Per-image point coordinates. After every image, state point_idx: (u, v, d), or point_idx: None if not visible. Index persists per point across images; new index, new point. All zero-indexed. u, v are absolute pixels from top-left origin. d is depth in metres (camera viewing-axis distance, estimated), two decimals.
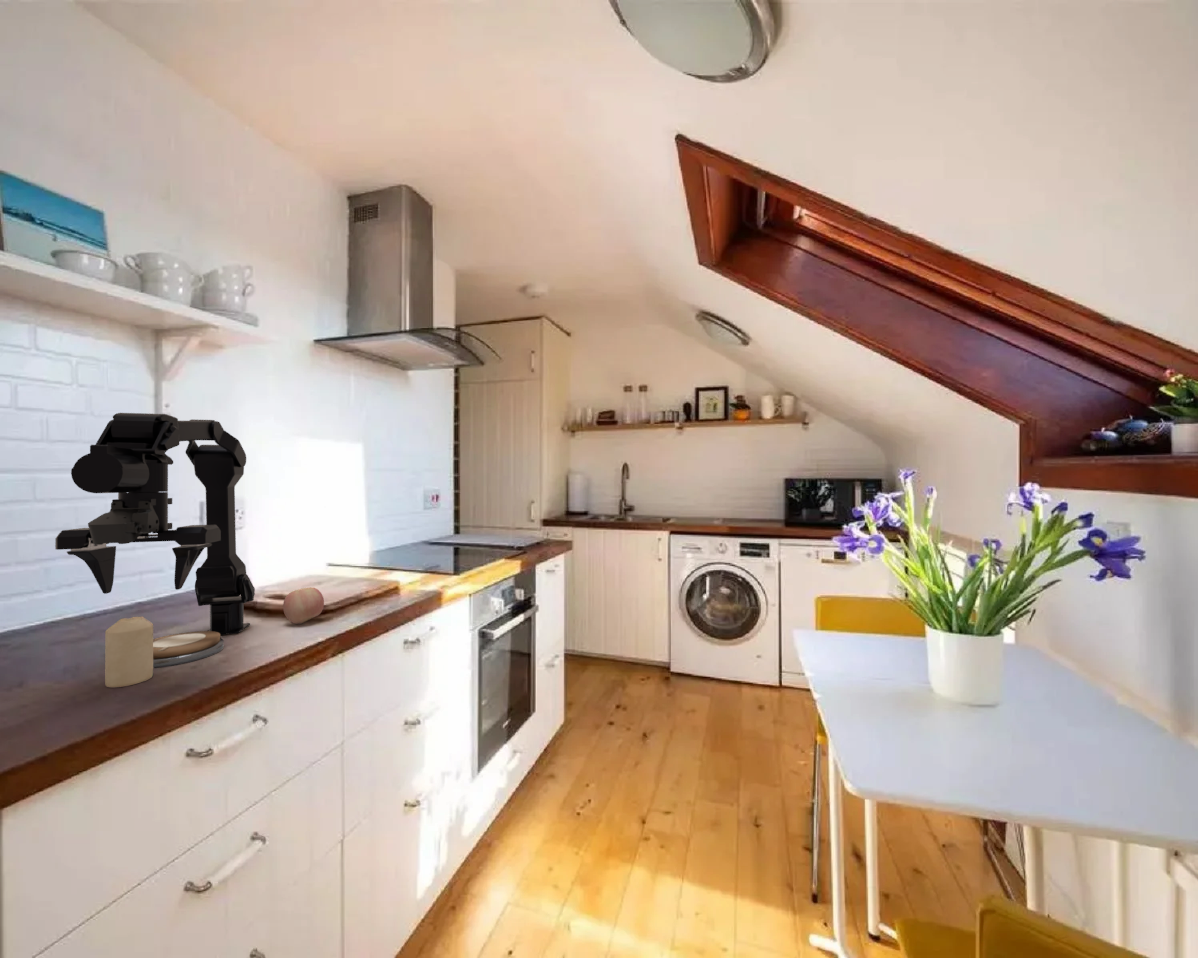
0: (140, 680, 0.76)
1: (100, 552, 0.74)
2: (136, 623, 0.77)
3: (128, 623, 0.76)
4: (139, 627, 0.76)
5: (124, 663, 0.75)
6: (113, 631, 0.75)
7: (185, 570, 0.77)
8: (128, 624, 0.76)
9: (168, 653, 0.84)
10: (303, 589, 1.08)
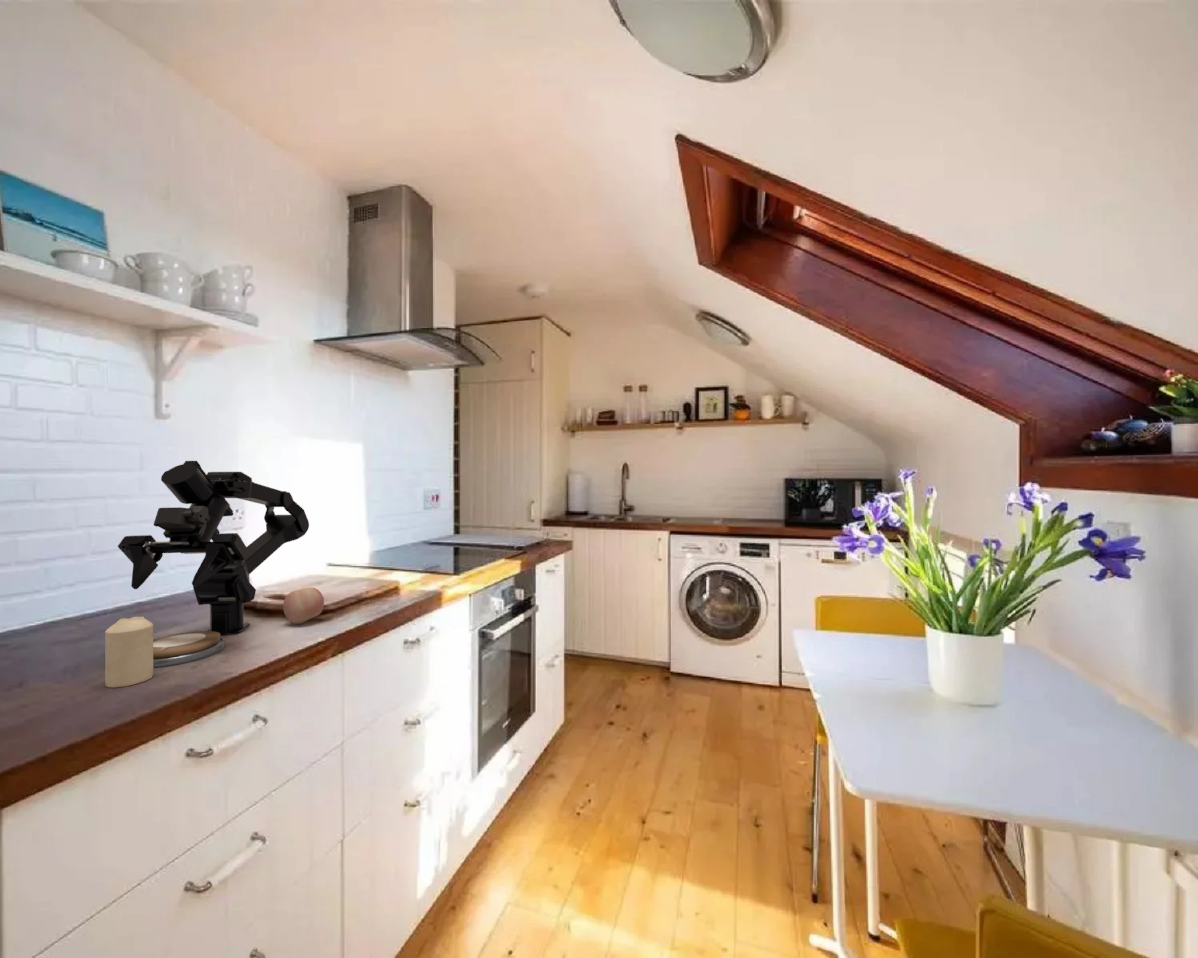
0: (140, 680, 0.76)
1: (147, 555, 0.88)
2: (136, 623, 0.77)
3: (128, 623, 0.76)
4: (139, 627, 0.76)
5: (124, 663, 0.75)
6: (113, 631, 0.75)
7: (207, 570, 0.88)
8: (128, 624, 0.76)
9: (168, 653, 0.84)
10: (303, 589, 1.08)
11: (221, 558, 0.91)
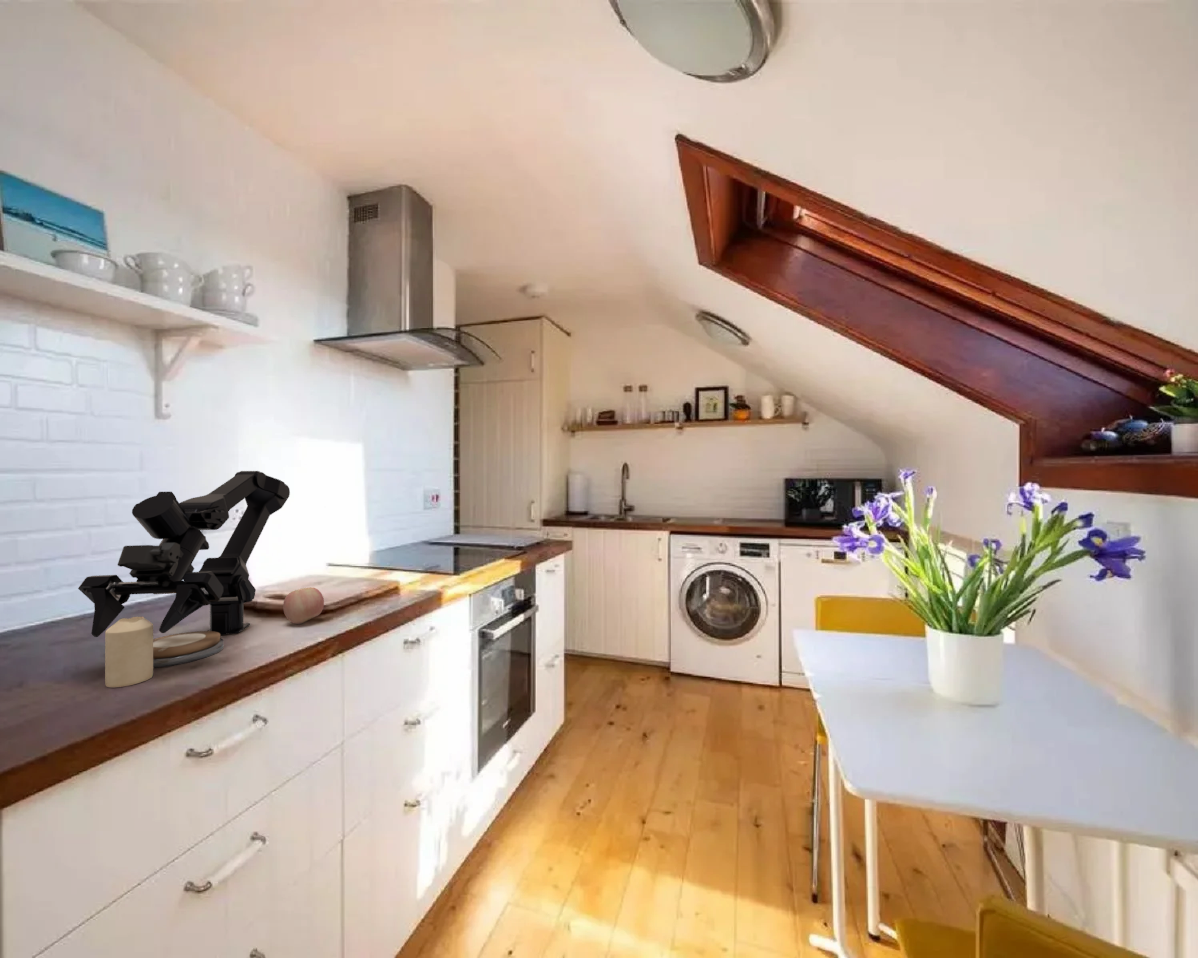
0: (140, 680, 0.76)
1: (111, 598, 0.80)
2: (136, 623, 0.77)
3: (128, 623, 0.76)
4: (139, 627, 0.76)
5: (124, 663, 0.75)
6: (113, 631, 0.75)
7: (177, 614, 0.80)
8: (128, 624, 0.76)
9: (168, 653, 0.84)
10: (303, 589, 1.08)
11: (194, 599, 0.83)
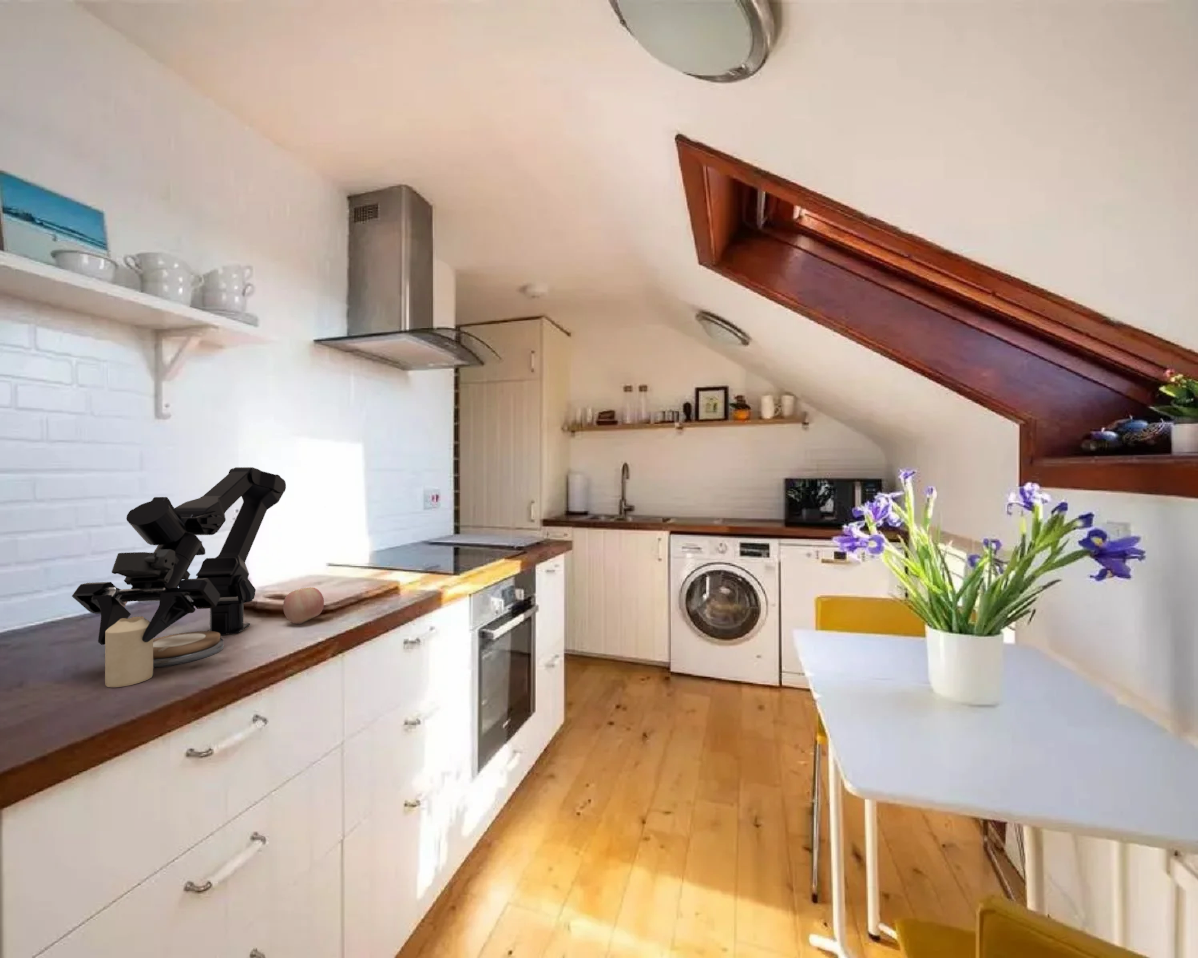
0: (140, 680, 0.76)
1: (118, 605, 0.79)
2: (136, 623, 0.77)
3: (128, 623, 0.76)
4: (139, 627, 0.76)
5: (124, 663, 0.75)
6: (113, 631, 0.75)
7: (160, 622, 0.78)
8: (128, 624, 0.76)
9: (168, 653, 0.84)
10: (303, 589, 1.08)
11: (178, 607, 0.82)
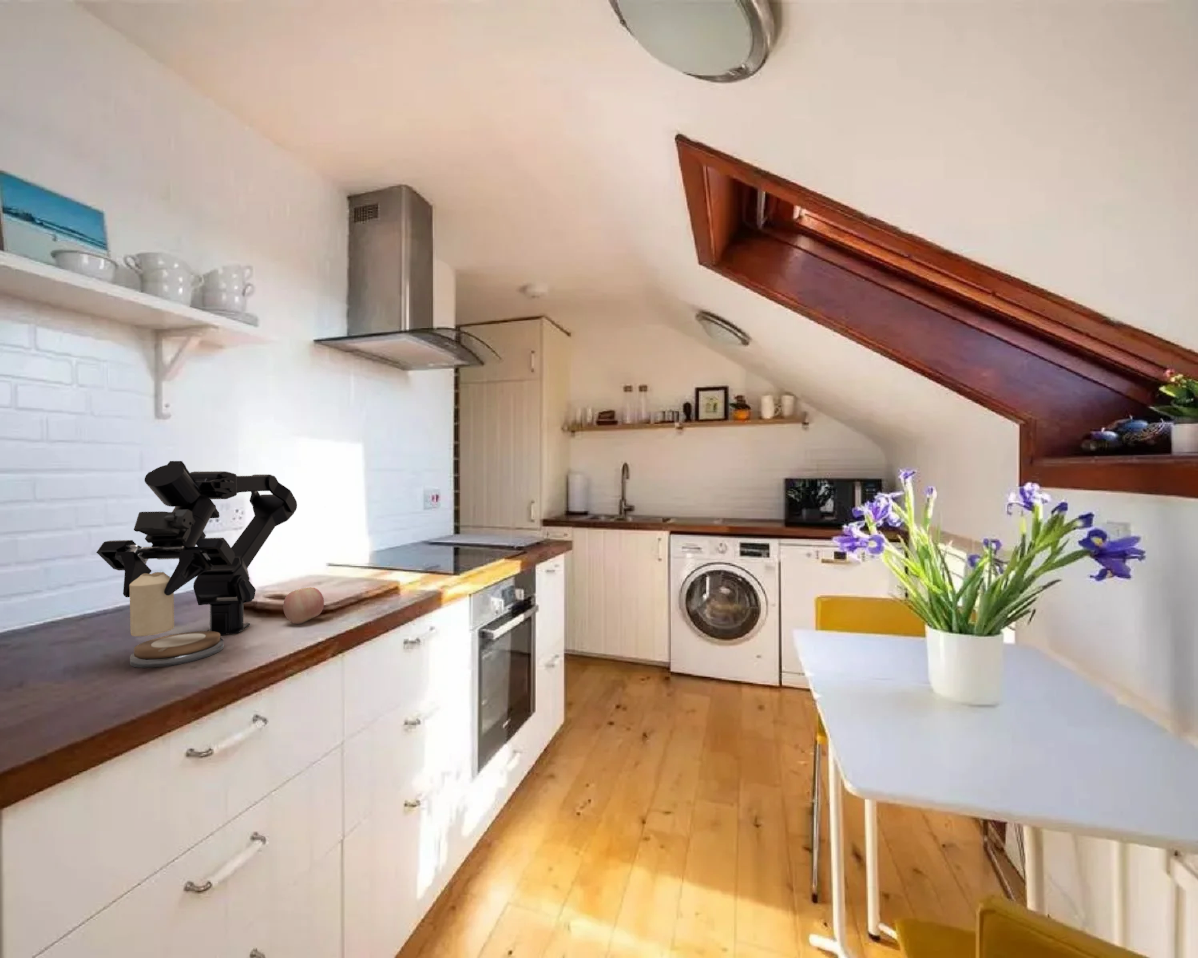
0: (163, 630, 0.81)
1: (139, 561, 0.84)
2: (158, 577, 0.81)
3: (150, 577, 0.81)
4: (161, 581, 0.81)
5: (148, 614, 0.80)
6: (137, 584, 0.79)
7: (180, 577, 0.83)
8: (150, 578, 0.81)
9: (168, 653, 0.84)
10: (303, 589, 1.08)
11: (196, 564, 0.87)
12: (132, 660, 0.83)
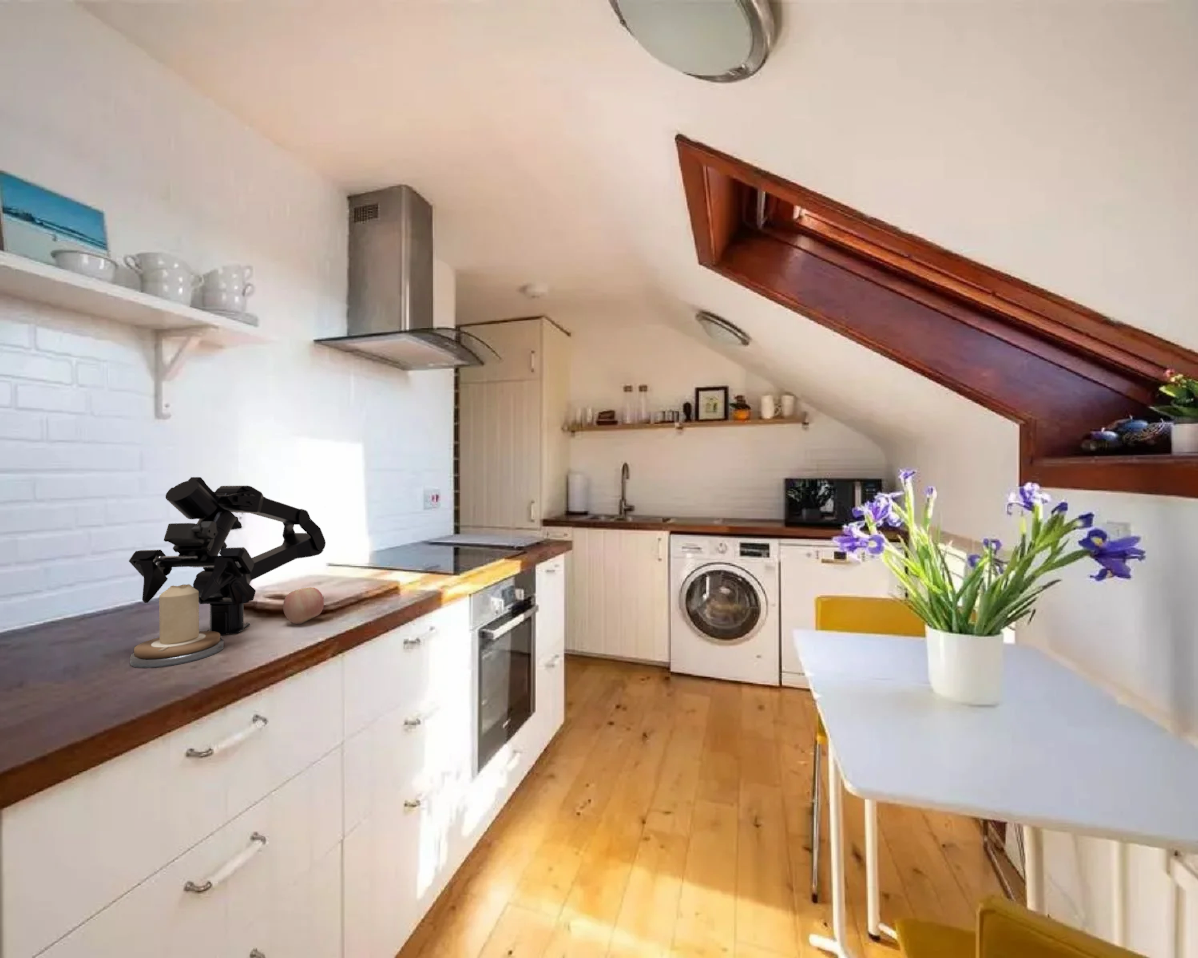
0: (189, 638, 0.88)
1: (157, 570, 0.91)
2: (185, 589, 0.89)
3: (178, 589, 0.88)
4: (188, 592, 0.88)
5: (176, 623, 0.87)
6: (167, 595, 0.87)
7: (215, 584, 0.91)
8: (178, 590, 0.88)
9: (168, 653, 0.84)
10: (303, 589, 1.08)
11: (229, 572, 0.94)
12: (132, 660, 0.83)
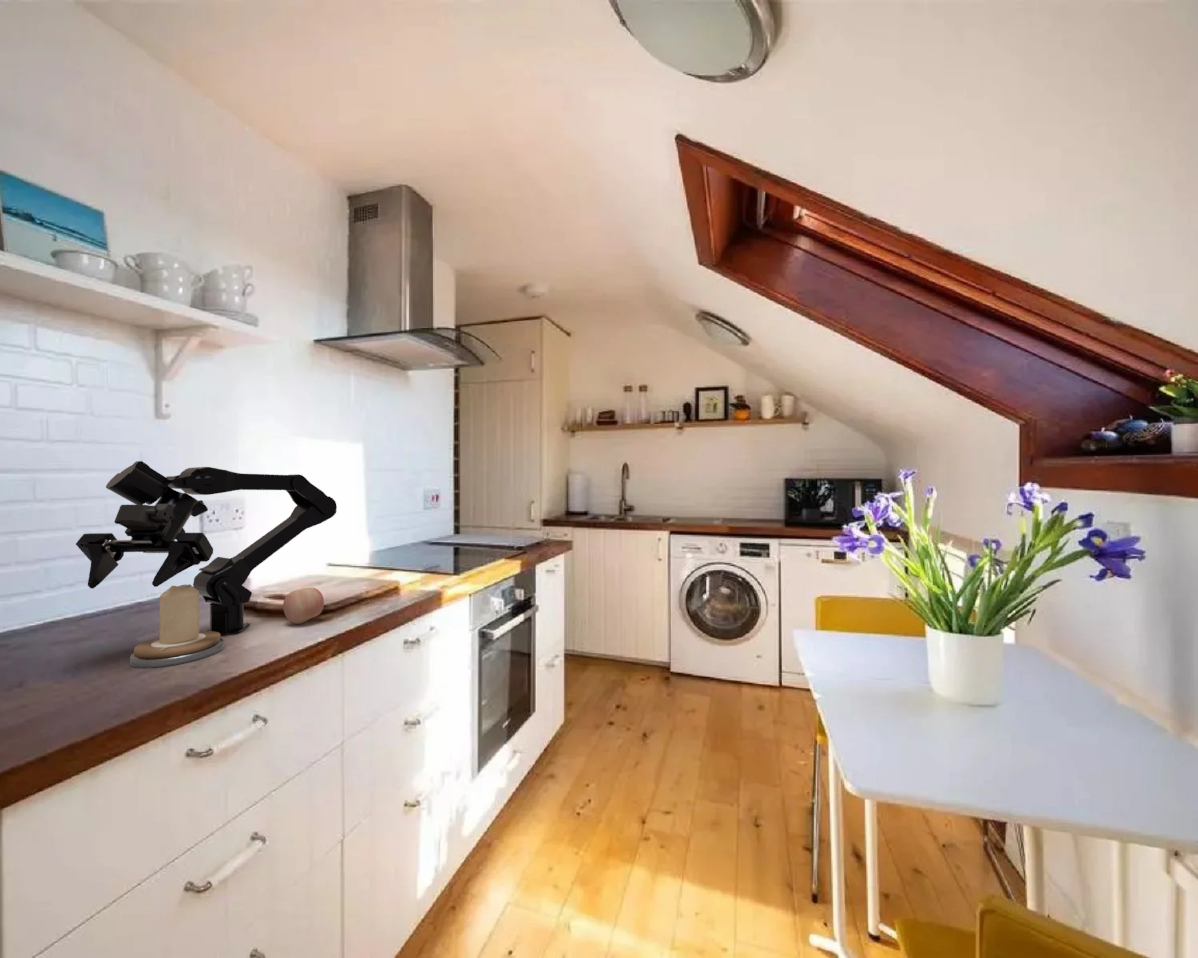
0: (189, 638, 0.88)
1: (107, 554, 0.85)
2: (185, 589, 0.89)
3: (179, 589, 0.88)
4: (188, 593, 0.88)
5: (176, 623, 0.87)
6: (167, 595, 0.87)
7: (169, 570, 0.85)
8: (179, 590, 0.88)
9: (168, 653, 0.84)
10: (303, 589, 1.08)
11: (185, 558, 0.89)
12: (132, 660, 0.83)
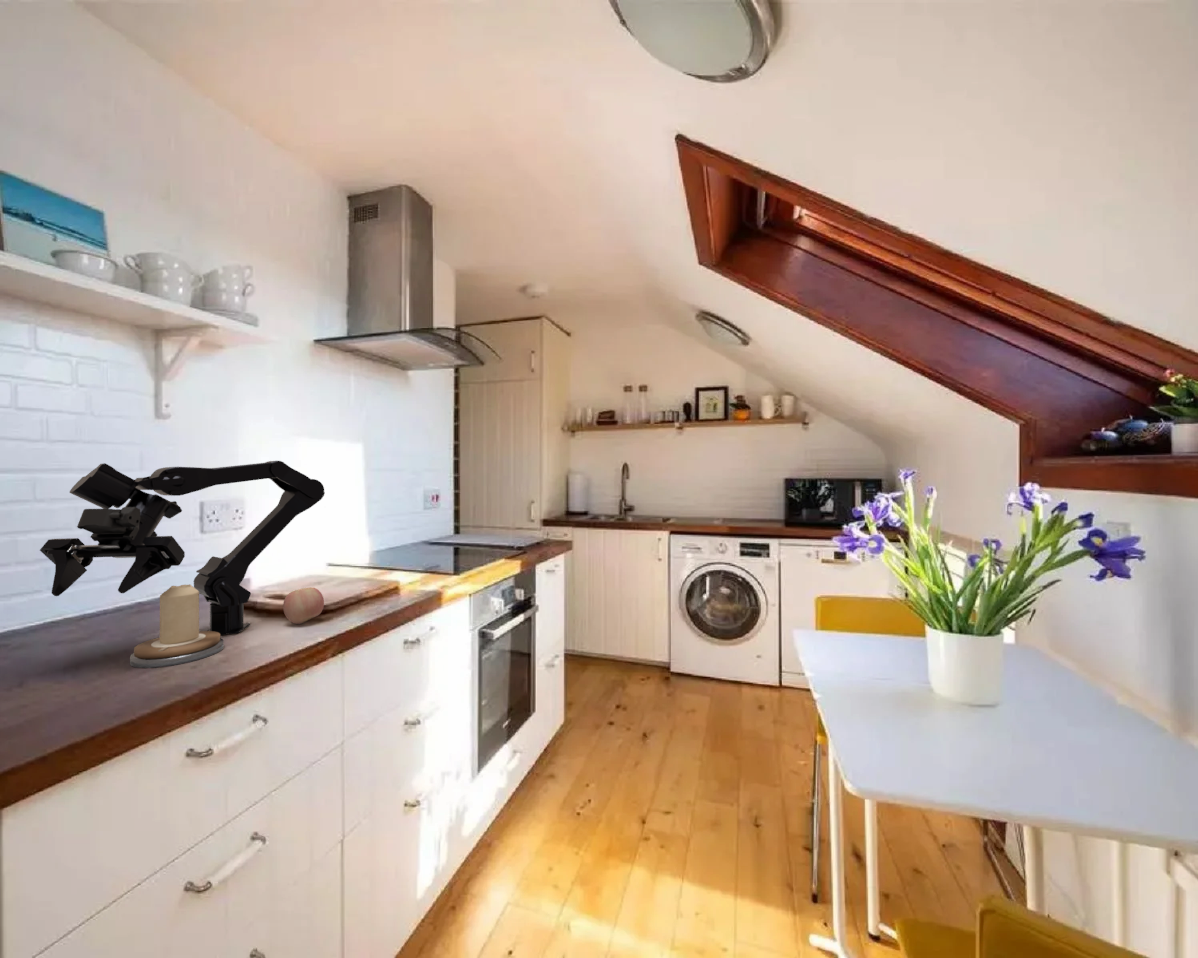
0: (189, 638, 0.88)
1: (73, 560, 0.82)
2: (185, 589, 0.89)
3: (179, 589, 0.88)
4: (188, 593, 0.88)
5: (176, 623, 0.87)
6: (167, 595, 0.87)
7: (136, 575, 0.82)
8: (179, 590, 0.88)
9: (168, 653, 0.84)
10: (303, 589, 1.08)
11: (154, 563, 0.86)
12: (132, 660, 0.83)
